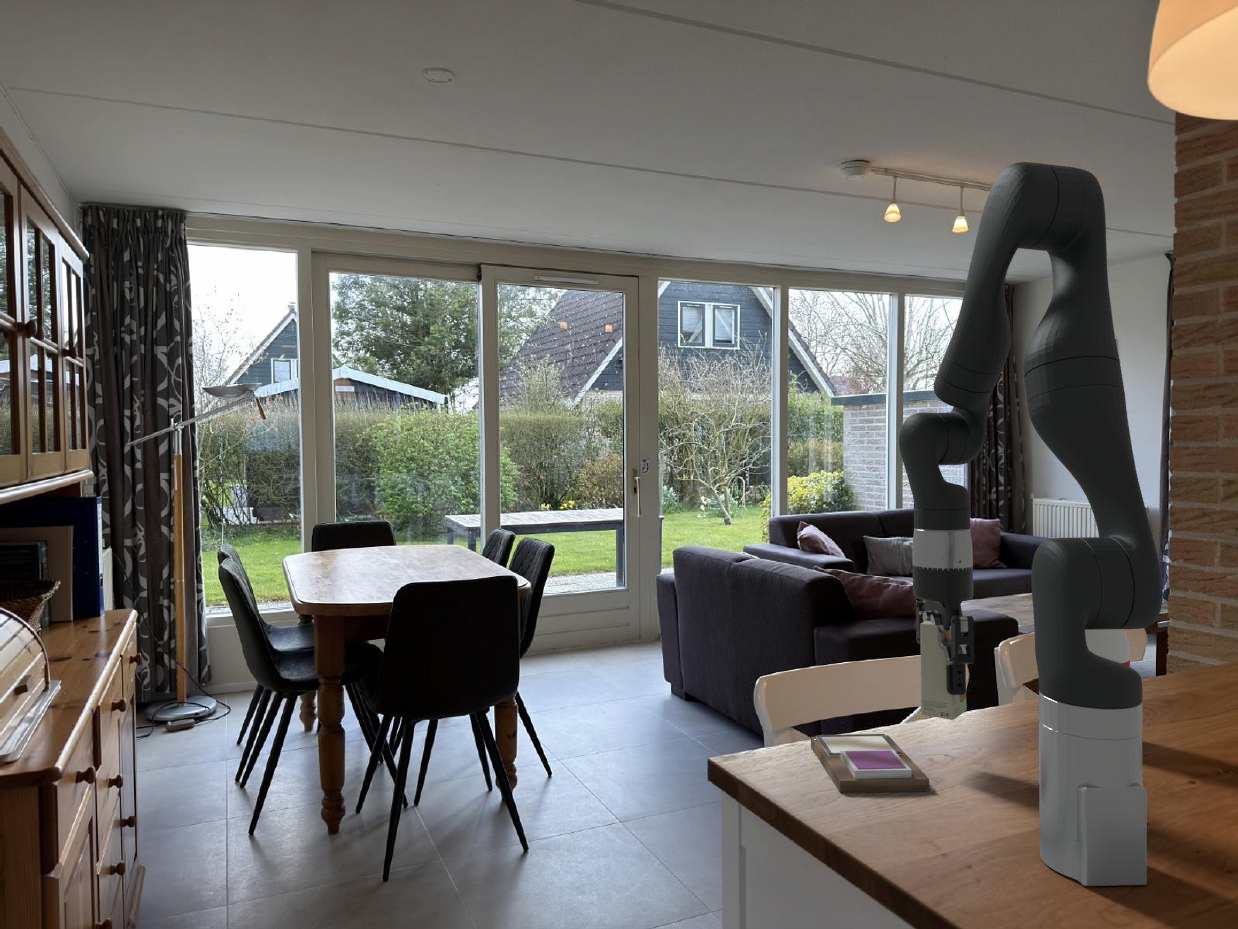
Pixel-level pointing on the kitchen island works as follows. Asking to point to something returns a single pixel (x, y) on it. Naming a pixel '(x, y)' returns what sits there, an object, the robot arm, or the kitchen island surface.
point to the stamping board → (868, 764)
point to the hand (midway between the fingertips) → (944, 686)
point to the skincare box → (936, 677)
